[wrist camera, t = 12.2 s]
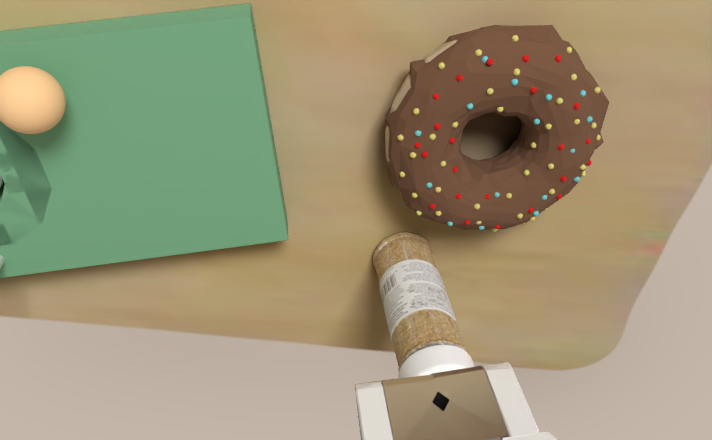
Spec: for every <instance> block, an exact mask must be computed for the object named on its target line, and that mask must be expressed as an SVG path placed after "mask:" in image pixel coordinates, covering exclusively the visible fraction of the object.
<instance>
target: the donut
mask: <svg viewBox="0 0 712 440" xmlns="http://www.w3.org/2000/svg"><path fill="white" fill-rule="evenodd" d="M608 104H609V101H608V99H607V98H606V96H605V95H604V93H603V92H602V90H601V89H600V87H599V86H598V84H597V83H596V81H595V80H594V78H593V77H592V75H591V74H590V73H589V72H588V71H587V70H586V69H585V67H584V65H583V63H582V61H581V59H580V57H579V55H578V53H577V52H576V51H575V49H574V48H573V47H572V46H571V45H570V43H569V42H567V41H564V40H562V38H561V37H560V36H559V34H558V33H557V31H556V30H555V28H554V27H553V25H544V26H499V25H494V26H488V27H483V28H480V29H477V30H473V31H469V32H465V33H461V34H457V35H454V36H450V37H449V38H448V39H447V41H446V42H445V43H444V44H443V45H442V46H440V47H439V48H437V49H436V50H434V51H433V52H431V53H429V54H428V55H426V56H425V58H424V59H423V60H419V61H414V62H410V73H409V74H408V75H407V77H406V79H405V80H404V82H403V84H402V86H401V87H400V89H399V91H398V93H397V94H396V96H395V98H394V100H393V104H392V107H391V108H390V109H389V111H388V112H387V114H386V122H387V127H386V131H385V145H386V159H387V162H388V171H389V177H390V181H391V183H392V184H393V185H394V186H396V187H399V188H400V189H401V190H402V193H403V197H404V201H405V203H406V205H407V206H409V207H410V208H411V209H413V210H414V211H416V212H417V215H422V216H424V217H426V218H428V219H430V220H433V221H437V222H441V223H445V224H448V225H449V226H455V227H458V228H461V229H464V230H467V229H480V230H482V229H492V230H493V231H494V232H495V231H497V230H498V229H506V228H509V227H512V226H516V225H519V224H526V222H528V221H530V220H531V221H533V220H535V216H537V215H539V213H541V212H542V211H544V210H545V211H547V210H548V207H549V206H551V205H552V204H553V203H555V202H556V201H558V200H559V199H561V198H562V197H563V196H565V195H566V194H568V193H569V192H570V191H571V190H572V189H573V187H574V186H575V185H576V184H577V183H578V181H579V180H580V177H581V176H585V174H586V173H585V171H584V169H585V168H586V166H589V165H591V161H590V158H591V156H592V154H593V152H594V150H595V149H596V148H597V147H599V146H600V145H601V144H602V143H603V139H602V136H601V133H600V131H601V128H602V125H603V121H604V118H605V114H606V111H607V108H608ZM492 112H494V113H497V114H499V115H501V116H517V117H518V118H519V119H520V120H521V121H522V125H521V129H520V133H519V137H518V138H517V139H516V140H515V141H514V143H513V144H512V145H511V146H510V147H509V148H508V149H507V150H506V151H505V152H503V153H501V154H499V155H497V156H495V157H493V158H490V159H484V160H473V159H471V158H469V157H468V156H466V155H464V154H462V153H461V151H460V147H461V139H462V132H463V129H464V128H465V126H466V125H467V123H468V122H469V121H470V120H472V119H475V118H477V117H480V116H482V115H485V114H487V113H492Z"/></svg>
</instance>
